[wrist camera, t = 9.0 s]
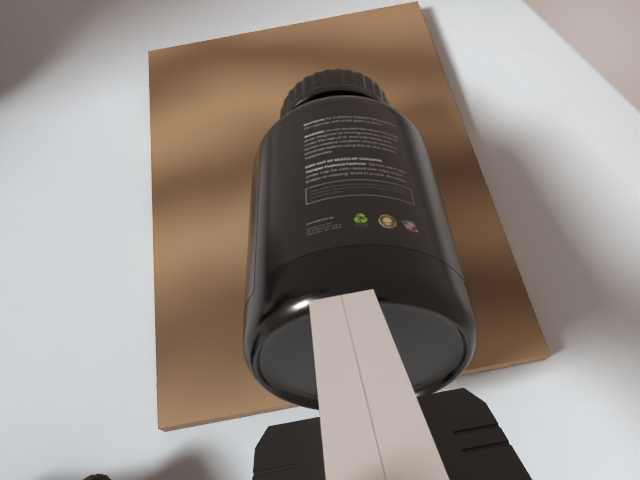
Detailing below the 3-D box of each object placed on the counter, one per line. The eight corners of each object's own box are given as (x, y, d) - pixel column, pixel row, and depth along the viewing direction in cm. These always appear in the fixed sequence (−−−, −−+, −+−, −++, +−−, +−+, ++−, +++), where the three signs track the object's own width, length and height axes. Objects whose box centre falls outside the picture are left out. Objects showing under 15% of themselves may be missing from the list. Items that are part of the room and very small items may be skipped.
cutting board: (544, 359, 21) (549, 354, 20) (165, 431, 21) (157, 428, 20) (416, 13, 30) (417, 1, 29) (153, 62, 30) (148, 51, 29)
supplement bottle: (521, 370, 16) (441, 126, 24) (404, 256, 12) (355, 7, 20) (335, 433, 19) (319, 197, 27) (188, 360, 15) (221, 106, 23)
